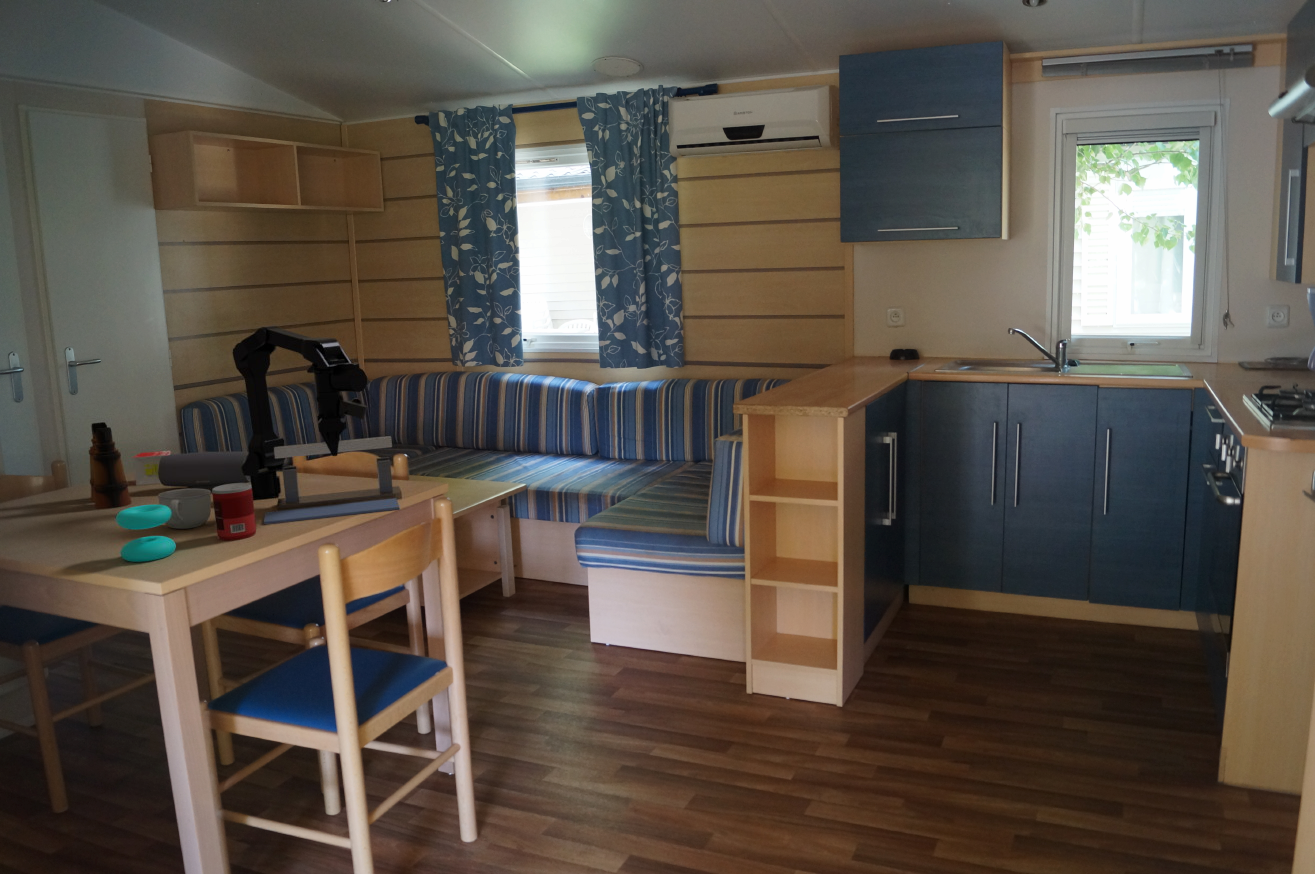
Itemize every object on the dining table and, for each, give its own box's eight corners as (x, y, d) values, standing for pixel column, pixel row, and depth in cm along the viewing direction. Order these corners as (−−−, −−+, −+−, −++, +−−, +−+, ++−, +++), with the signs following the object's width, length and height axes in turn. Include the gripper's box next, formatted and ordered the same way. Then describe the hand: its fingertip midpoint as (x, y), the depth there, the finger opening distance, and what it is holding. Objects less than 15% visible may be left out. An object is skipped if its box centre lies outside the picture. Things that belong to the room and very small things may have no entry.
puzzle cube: (136, 485, 273) (132, 457, 272) (143, 479, 281) (140, 452, 279) (167, 482, 275) (164, 455, 274) (174, 477, 282) (170, 450, 281)
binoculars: (89, 498, 258) (79, 423, 255) (124, 493, 263) (114, 419, 260) (96, 510, 243) (85, 431, 240) (133, 505, 248) (123, 427, 245)
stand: (277, 511, 234) (273, 472, 233) (278, 504, 242) (274, 466, 240) (402, 498, 243) (398, 460, 242) (399, 491, 251) (396, 455, 249)
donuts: (181, 503, 202) (147, 515, 192) (187, 549, 204) (153, 564, 194) (139, 502, 204) (103, 514, 194) (145, 548, 206) (110, 563, 196)
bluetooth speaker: (258, 482, 270) (254, 447, 268) (245, 490, 261) (241, 453, 259) (175, 486, 269) (171, 450, 268) (159, 494, 260) (154, 457, 258)
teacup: (177, 520, 230) (173, 487, 228) (222, 519, 229) (218, 485, 228) (145, 536, 216) (140, 501, 215) (193, 535, 216) (188, 499, 214)
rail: (275, 458, 232) (273, 448, 232) (275, 456, 235) (274, 447, 234) (392, 447, 241) (391, 437, 241) (391, 445, 243) (390, 436, 243)
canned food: (264, 532, 216) (259, 483, 214) (238, 541, 208) (232, 491, 207) (236, 530, 218) (231, 482, 216) (209, 540, 211) (203, 490, 209)
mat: (263, 524, 222) (263, 522, 222) (265, 514, 232) (265, 512, 232) (399, 509, 232) (399, 506, 232) (396, 500, 241) (396, 498, 241)
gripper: (365, 392, 229) (371, 457, 232) (361, 385, 247) (366, 446, 249) (315, 396, 226) (322, 462, 228) (314, 388, 243) (320, 450, 246)
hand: (334, 455), depth 238 cm, fingers closed on rail, 2 cm apart
